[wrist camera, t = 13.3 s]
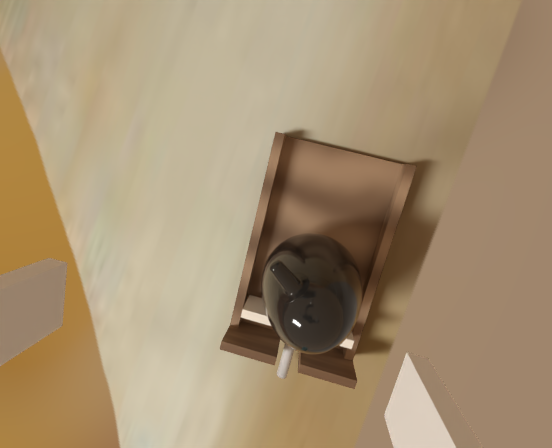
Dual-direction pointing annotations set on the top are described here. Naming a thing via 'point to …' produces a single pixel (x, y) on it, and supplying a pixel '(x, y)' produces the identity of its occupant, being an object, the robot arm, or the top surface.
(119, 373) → the top surface
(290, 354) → the pusher
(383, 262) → the brown wooden tray
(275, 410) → the top surface
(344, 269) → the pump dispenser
